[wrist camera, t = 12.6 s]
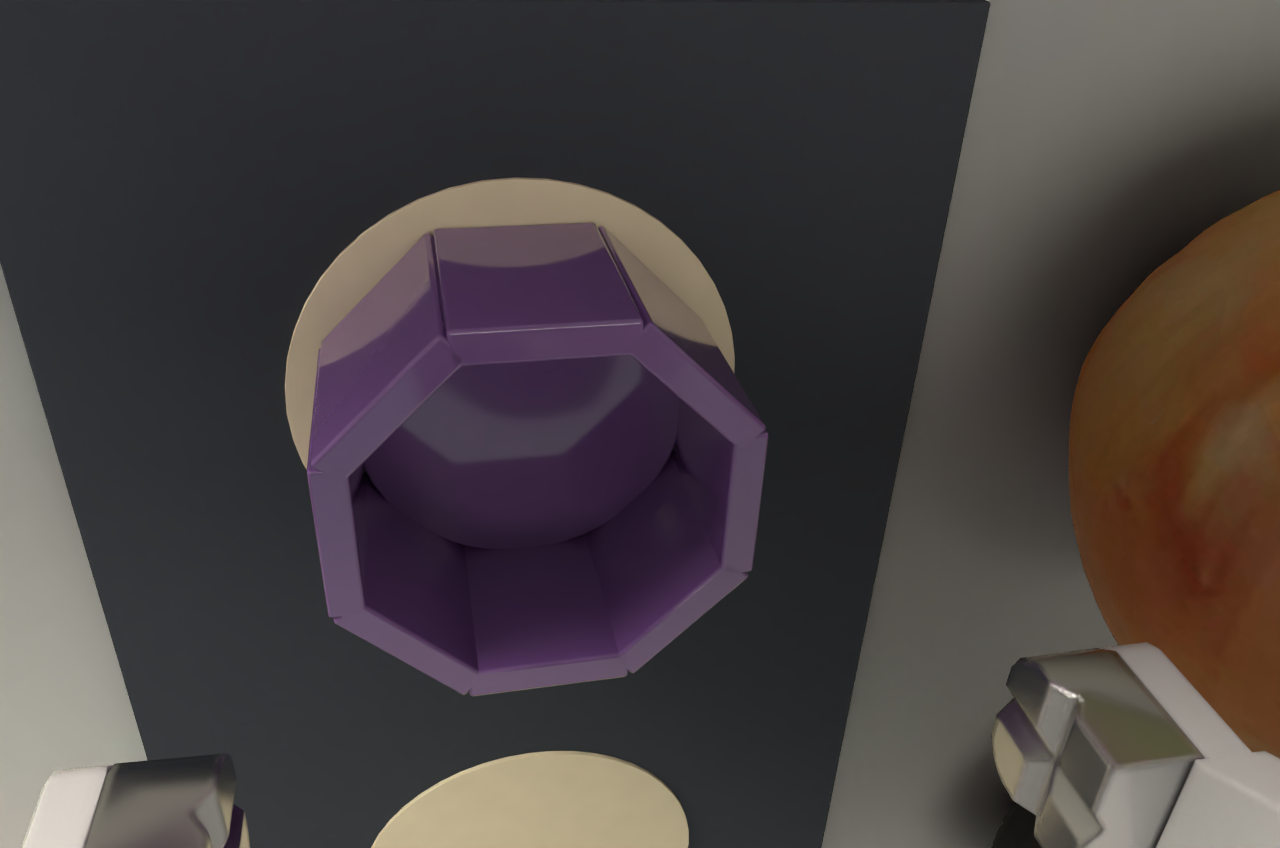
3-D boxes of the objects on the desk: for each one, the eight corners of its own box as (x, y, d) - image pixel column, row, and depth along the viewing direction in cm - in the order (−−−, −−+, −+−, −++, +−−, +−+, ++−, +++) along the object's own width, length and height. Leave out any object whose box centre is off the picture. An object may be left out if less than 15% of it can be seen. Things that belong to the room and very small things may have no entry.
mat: (981, -2, 16) (994, 2, 15) (794, 956, 28) (799, 970, 28) (-72, -8, 13) (-83, -2, 12) (241, 1060, 25) (239, 1077, 25)
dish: (712, 216, 16) (785, 311, 13) (687, 531, 19) (742, 663, 16) (302, 232, 15) (285, 340, 12) (348, 566, 18) (342, 714, 15)
